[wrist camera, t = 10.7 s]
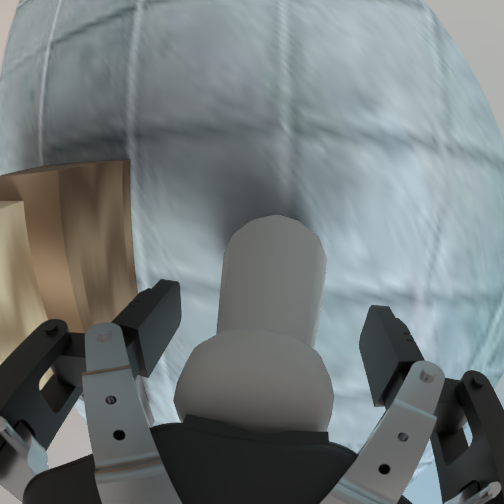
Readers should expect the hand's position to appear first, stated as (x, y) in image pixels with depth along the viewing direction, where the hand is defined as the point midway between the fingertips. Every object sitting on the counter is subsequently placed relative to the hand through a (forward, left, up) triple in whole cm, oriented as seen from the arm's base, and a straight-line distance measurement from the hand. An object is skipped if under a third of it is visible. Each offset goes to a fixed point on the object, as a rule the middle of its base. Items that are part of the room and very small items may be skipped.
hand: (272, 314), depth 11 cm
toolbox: (+2, -16, -7) cm, 17 cm away
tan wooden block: (+7, -15, -5) cm, 18 cm away
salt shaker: (0, 0, -7) cm, 7 cm away
